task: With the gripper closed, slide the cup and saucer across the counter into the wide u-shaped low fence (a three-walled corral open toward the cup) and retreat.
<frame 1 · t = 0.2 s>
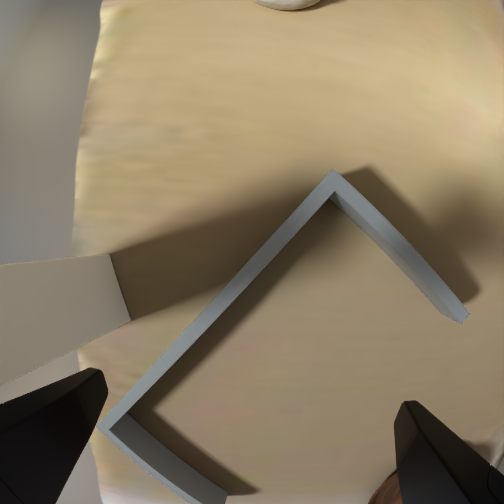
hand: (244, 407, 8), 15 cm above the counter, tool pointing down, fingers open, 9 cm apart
u-shaped low fence: (276, 383, 24), on the counter
cup and saucer: (417, 486, 23), on the counter
milk: (96, 295, 26), on the counter
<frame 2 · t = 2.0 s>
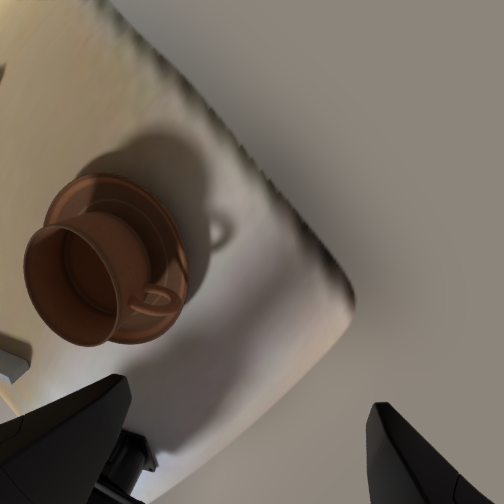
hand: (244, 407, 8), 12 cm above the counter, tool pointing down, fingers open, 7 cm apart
cup and saucer: (119, 256, 21), on the counter
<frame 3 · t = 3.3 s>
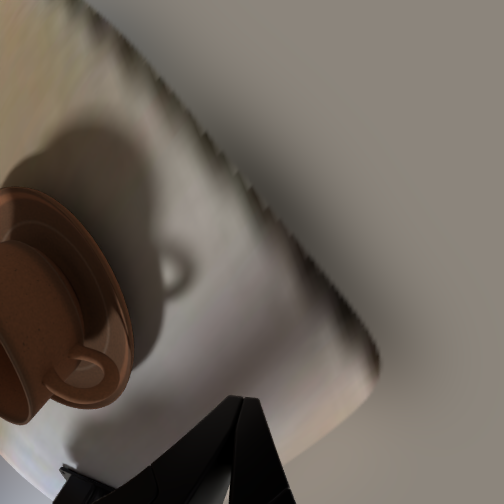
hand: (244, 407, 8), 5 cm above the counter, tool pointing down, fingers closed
cup and saucer: (53, 295, 14), on the counter
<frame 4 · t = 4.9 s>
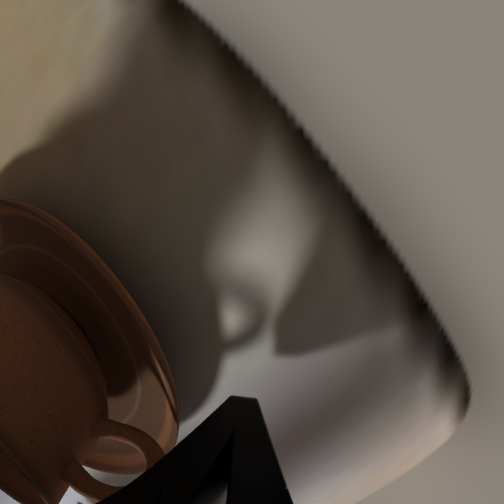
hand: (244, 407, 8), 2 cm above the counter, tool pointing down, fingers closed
cup and saucer: (59, 338, 11), on the counter, touching gripper
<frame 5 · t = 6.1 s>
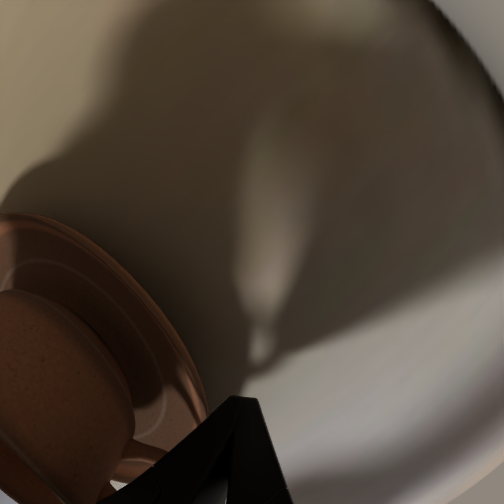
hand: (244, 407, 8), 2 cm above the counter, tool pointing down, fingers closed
cup and saucer: (78, 352, 11), on the counter, touching gripper
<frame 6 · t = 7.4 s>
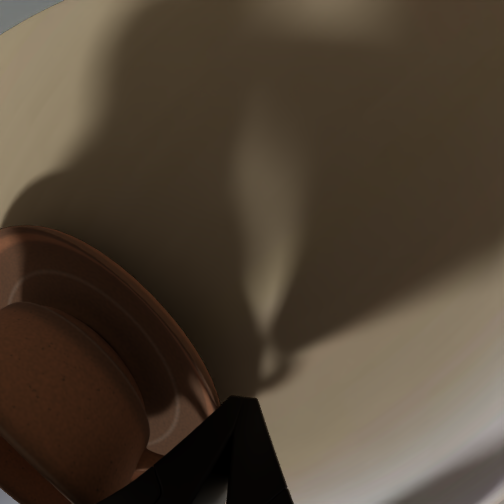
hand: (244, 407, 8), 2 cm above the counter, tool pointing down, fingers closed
u-shaped low fence: (6, 325, 11), on the counter
cup and saucer: (89, 361, 11), on the counter, touching gripper
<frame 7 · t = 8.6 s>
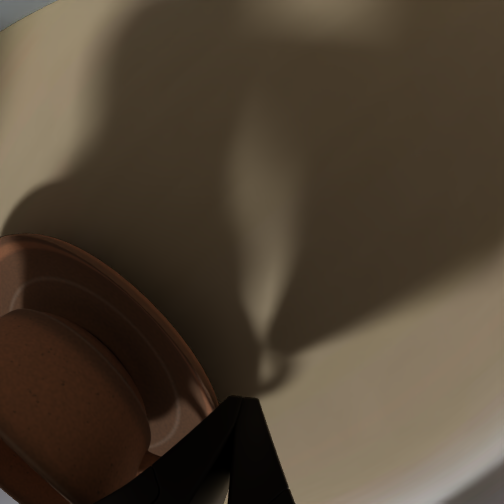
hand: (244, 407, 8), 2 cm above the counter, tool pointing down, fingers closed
u-shaped low fence: (83, 346, 10), on the counter
cup and saucer: (91, 366, 11), on the counter, touching gripper
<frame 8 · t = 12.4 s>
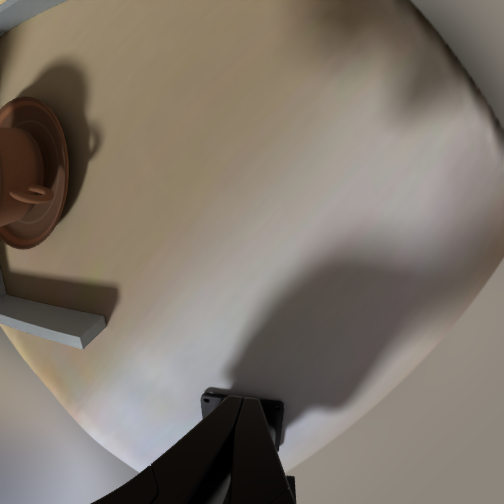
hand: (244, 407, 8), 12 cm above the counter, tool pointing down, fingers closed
u-shaped low fence: (32, 152, 20), on the counter
cup and saucer: (31, 171, 20), on the counter
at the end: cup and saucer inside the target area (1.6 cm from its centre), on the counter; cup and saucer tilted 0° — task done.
